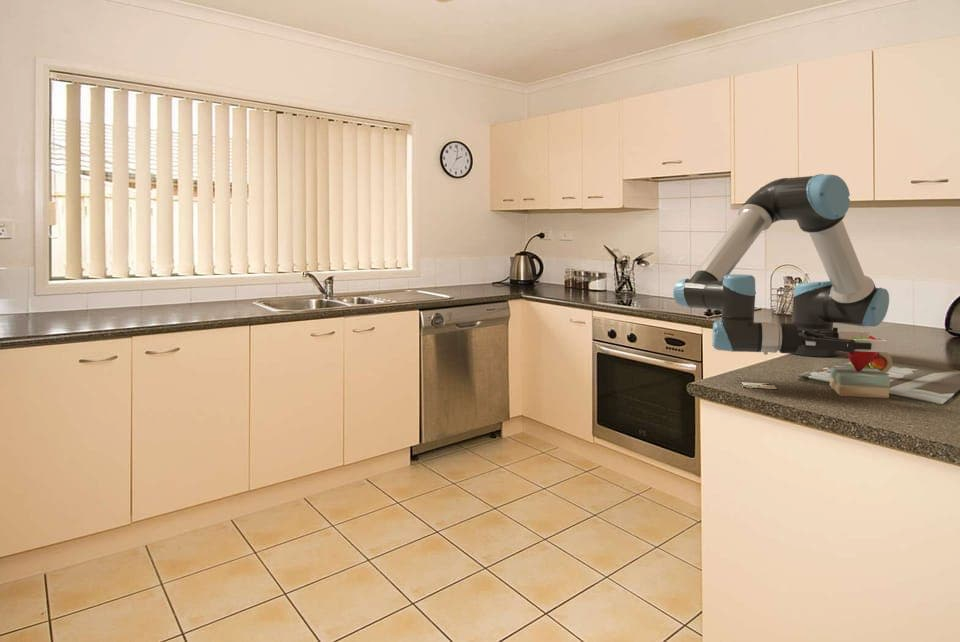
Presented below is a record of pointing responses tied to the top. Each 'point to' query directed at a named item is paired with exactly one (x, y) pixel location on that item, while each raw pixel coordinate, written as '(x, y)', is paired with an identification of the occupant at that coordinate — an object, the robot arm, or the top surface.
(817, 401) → the top surface
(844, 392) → the base brick
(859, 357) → the strawberry
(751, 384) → the page
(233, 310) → the top surface
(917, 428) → the top surface
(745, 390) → the top surface
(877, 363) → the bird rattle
